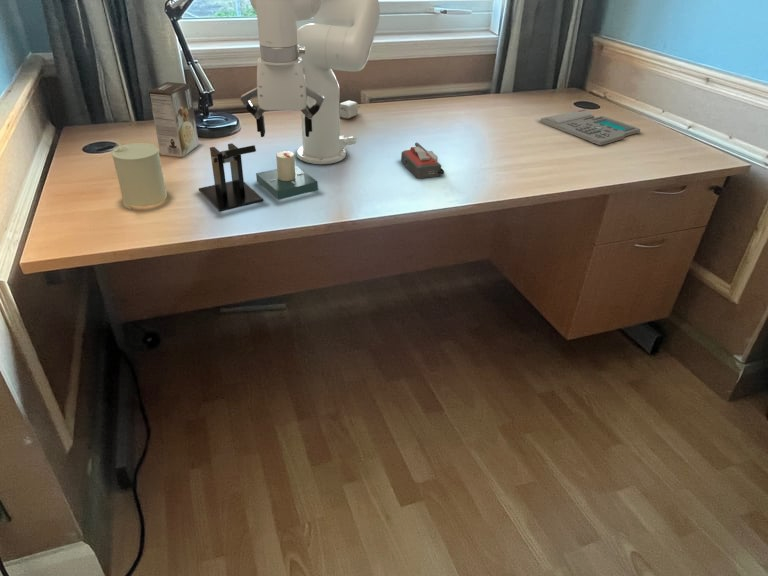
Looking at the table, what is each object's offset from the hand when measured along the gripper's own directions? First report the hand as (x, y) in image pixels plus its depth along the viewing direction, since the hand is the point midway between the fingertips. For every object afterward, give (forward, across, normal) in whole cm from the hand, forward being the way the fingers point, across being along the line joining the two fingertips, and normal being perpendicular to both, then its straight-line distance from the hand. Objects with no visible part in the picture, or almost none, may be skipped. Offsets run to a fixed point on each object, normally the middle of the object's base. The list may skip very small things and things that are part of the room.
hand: (285, 134), depth 127 cm
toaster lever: (+2, +10, +10) cm, 14 cm away
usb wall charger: (+15, -16, -52) cm, 57 cm away
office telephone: (+15, -89, -42) cm, 100 cm away
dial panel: (+13, 0, +1) cm, 13 cm away
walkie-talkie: (+14, -32, -14) cm, 38 cm away
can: (+12, +30, +7) cm, 34 cm away
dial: (+10, 0, +1) cm, 10 cm away
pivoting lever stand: (+12, +12, +6) cm, 19 cm away
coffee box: (+13, +29, -23) cm, 39 cm away
